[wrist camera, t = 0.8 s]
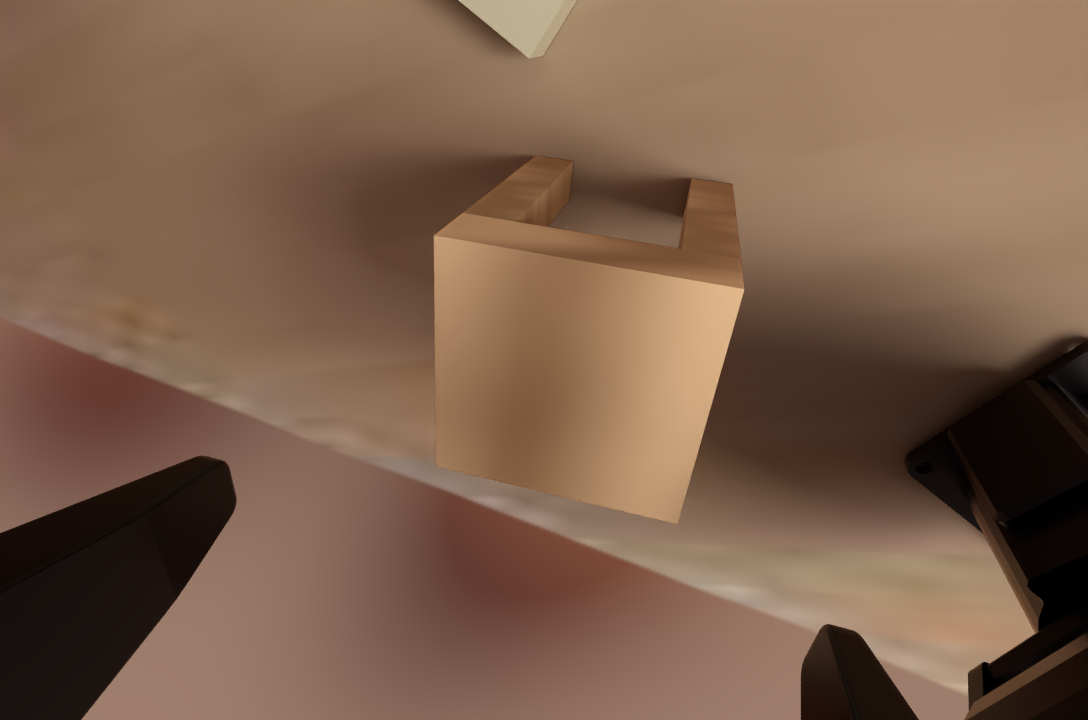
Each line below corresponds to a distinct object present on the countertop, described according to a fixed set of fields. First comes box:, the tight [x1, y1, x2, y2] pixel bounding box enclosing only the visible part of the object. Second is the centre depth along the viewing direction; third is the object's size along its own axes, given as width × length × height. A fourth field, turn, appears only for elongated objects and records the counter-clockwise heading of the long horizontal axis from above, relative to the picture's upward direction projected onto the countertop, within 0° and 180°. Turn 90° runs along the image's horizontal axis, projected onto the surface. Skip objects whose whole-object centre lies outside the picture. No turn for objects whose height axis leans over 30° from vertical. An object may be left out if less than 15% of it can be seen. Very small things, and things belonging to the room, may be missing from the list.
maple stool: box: [434, 156, 744, 524], centre depth 16 cm, size 6×6×8 cm
